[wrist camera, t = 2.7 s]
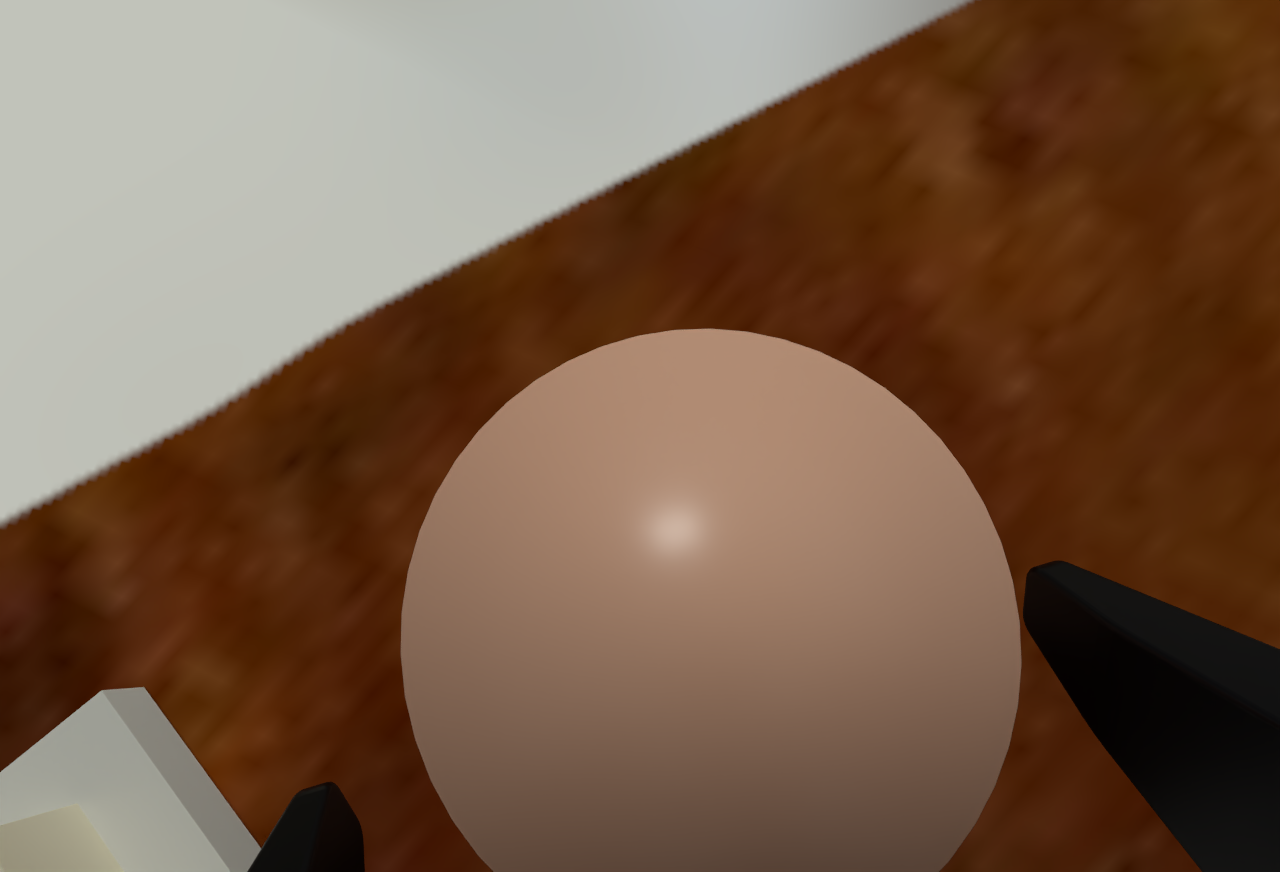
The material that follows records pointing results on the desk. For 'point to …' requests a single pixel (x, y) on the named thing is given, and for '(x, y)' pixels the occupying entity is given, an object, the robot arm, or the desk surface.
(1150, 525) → the desk surface
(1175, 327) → the desk surface
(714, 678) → the column
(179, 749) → the tower base
